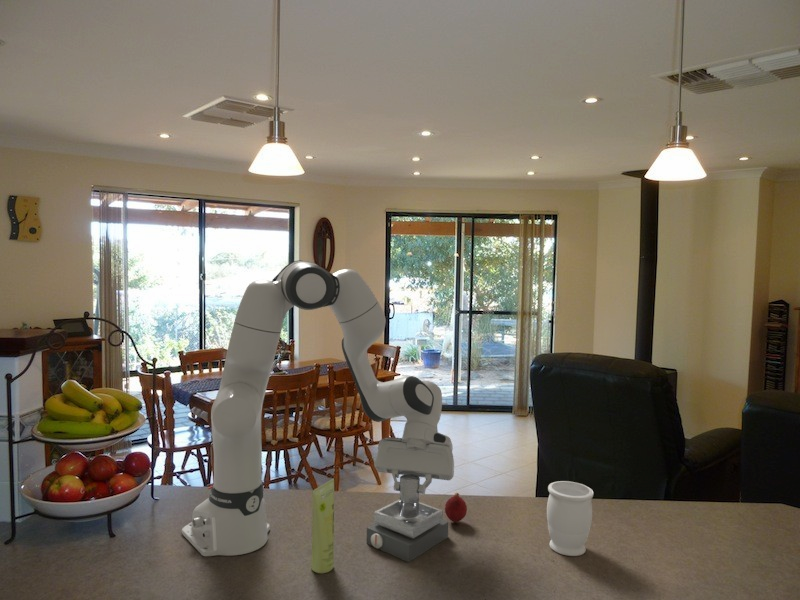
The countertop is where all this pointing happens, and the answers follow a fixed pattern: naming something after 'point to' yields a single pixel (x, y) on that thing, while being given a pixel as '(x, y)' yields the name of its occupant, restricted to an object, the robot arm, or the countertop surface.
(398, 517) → the pan
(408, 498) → the grey cylinder
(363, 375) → the robot arm
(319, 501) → the tube
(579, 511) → the jar
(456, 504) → the onion
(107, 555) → the countertop surface
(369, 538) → the scale
